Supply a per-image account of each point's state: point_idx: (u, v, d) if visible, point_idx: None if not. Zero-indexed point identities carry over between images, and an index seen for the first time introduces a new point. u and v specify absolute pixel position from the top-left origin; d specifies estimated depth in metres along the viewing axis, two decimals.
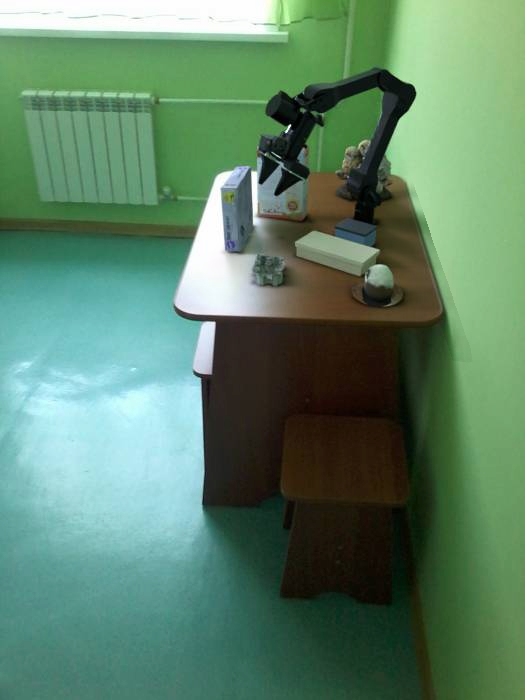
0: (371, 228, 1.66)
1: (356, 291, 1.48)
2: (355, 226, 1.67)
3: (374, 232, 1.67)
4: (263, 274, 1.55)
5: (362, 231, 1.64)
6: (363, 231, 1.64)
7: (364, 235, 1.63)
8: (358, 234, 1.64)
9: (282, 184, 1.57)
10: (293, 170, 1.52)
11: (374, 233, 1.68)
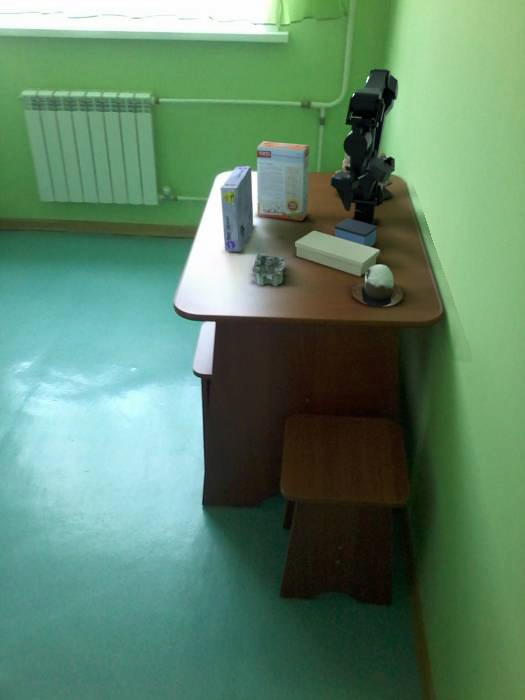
0: (371, 228, 1.66)
1: (356, 291, 1.48)
2: (355, 226, 1.67)
3: (374, 232, 1.67)
4: (263, 274, 1.55)
5: (362, 231, 1.64)
6: (363, 231, 1.64)
7: (364, 235, 1.63)
8: (358, 234, 1.64)
9: None
10: None
11: (374, 233, 1.68)
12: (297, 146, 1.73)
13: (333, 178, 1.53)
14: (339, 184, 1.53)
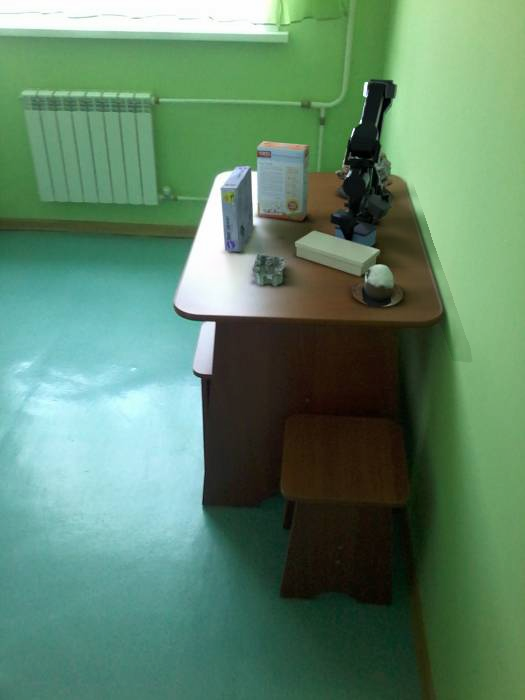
0: (371, 228, 1.66)
1: (356, 291, 1.48)
2: None
3: (374, 232, 1.67)
4: (263, 274, 1.55)
5: (362, 231, 1.64)
6: (363, 231, 1.64)
7: (364, 235, 1.63)
8: (358, 234, 1.64)
9: None
10: None
11: (374, 233, 1.68)
12: (297, 146, 1.73)
13: (333, 216, 1.59)
14: (339, 221, 1.59)
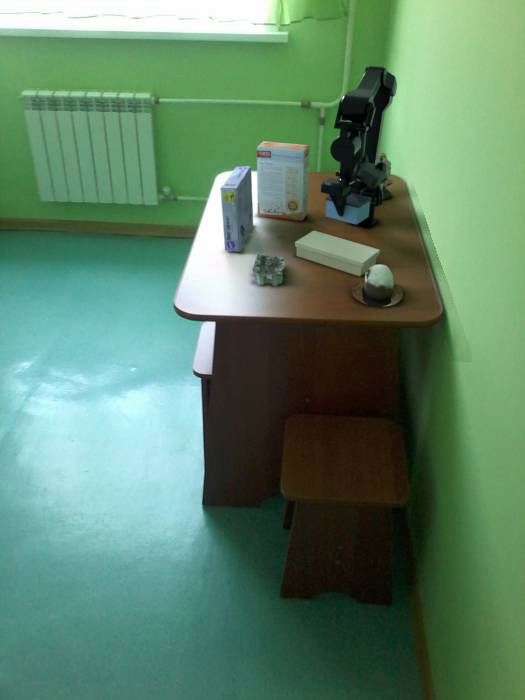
0: (365, 200, 1.55)
1: (356, 291, 1.48)
2: (347, 197, 1.56)
3: (368, 204, 1.57)
4: (263, 274, 1.55)
5: (355, 202, 1.54)
6: (356, 202, 1.54)
7: (357, 206, 1.52)
8: (351, 205, 1.53)
9: None
10: None
11: (368, 205, 1.57)
12: (297, 146, 1.73)
13: (323, 184, 1.48)
14: (330, 190, 1.48)
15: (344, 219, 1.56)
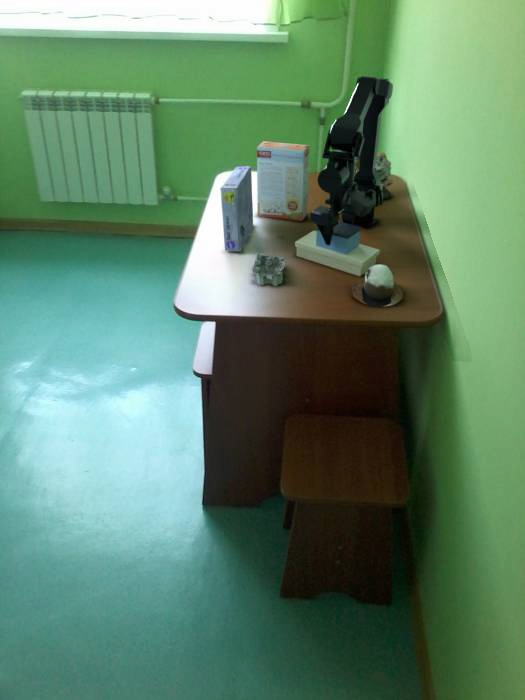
0: (354, 230, 1.55)
1: (356, 291, 1.48)
2: (337, 227, 1.57)
3: (358, 234, 1.57)
4: (263, 274, 1.55)
5: (345, 233, 1.54)
6: (346, 233, 1.54)
7: (347, 237, 1.53)
8: (340, 236, 1.54)
9: None
10: None
11: (358, 235, 1.57)
12: (297, 146, 1.73)
13: (312, 213, 1.48)
14: (319, 219, 1.48)
15: (334, 249, 1.57)
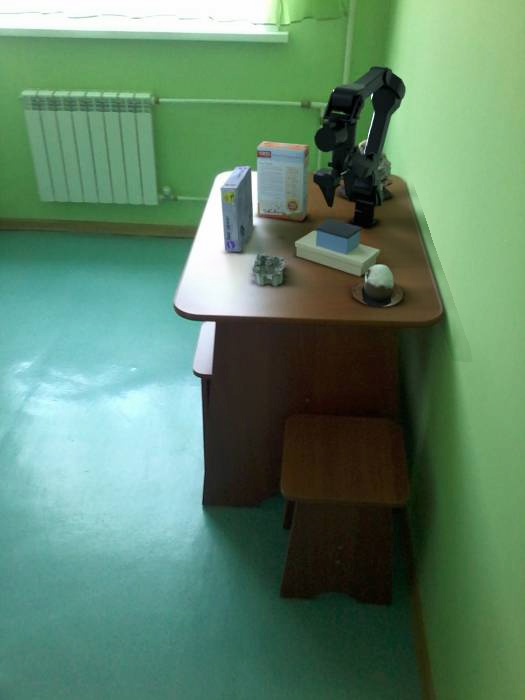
0: (354, 230, 1.55)
1: (356, 291, 1.48)
2: (337, 227, 1.57)
3: (358, 234, 1.57)
4: (263, 274, 1.55)
5: (345, 233, 1.54)
6: (346, 233, 1.54)
7: (347, 237, 1.53)
8: (340, 236, 1.54)
9: None
10: None
11: (358, 235, 1.57)
12: (297, 146, 1.73)
13: (315, 174, 1.53)
14: (321, 180, 1.52)
15: (334, 249, 1.57)
